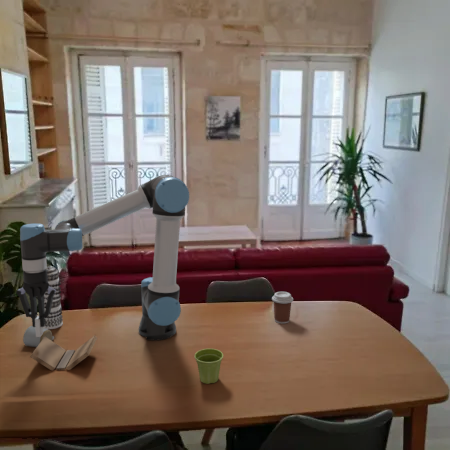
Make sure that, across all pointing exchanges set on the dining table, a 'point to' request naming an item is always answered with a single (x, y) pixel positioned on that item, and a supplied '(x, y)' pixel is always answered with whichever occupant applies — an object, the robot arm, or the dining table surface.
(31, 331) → the ceramic mug
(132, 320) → the dining table surface
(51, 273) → the decorative candle
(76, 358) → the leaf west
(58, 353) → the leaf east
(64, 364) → the centre strip
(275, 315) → the coffee cup
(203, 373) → the plant pot
